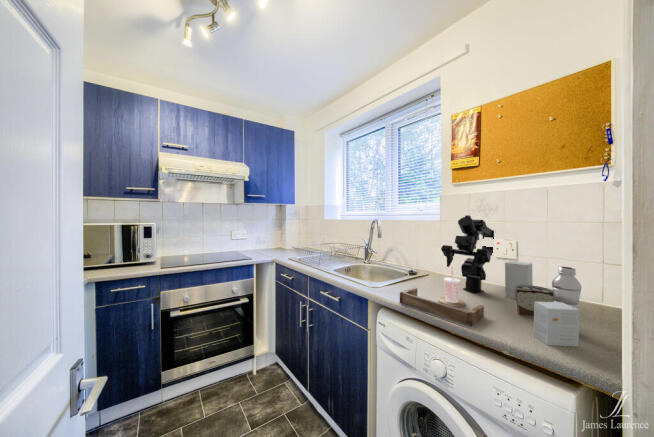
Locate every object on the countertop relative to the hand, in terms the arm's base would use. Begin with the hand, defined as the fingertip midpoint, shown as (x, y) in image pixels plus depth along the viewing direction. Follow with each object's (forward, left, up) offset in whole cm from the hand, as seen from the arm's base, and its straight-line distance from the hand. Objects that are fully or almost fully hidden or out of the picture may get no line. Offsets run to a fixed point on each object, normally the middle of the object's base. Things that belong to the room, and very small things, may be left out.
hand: (458, 268), depth 103 cm
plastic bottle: (-6, +33, -13) cm, 36 cm away
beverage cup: (+6, +2, -13) cm, 14 cm away
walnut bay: (+16, +5, -13) cm, 21 cm away
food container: (-11, +21, -13) cm, 27 cm away
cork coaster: (+6, +2, -13) cm, 15 cm away
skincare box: (-25, +9, -13) cm, 30 cm away
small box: (+4, +35, -13) cm, 38 cm away
